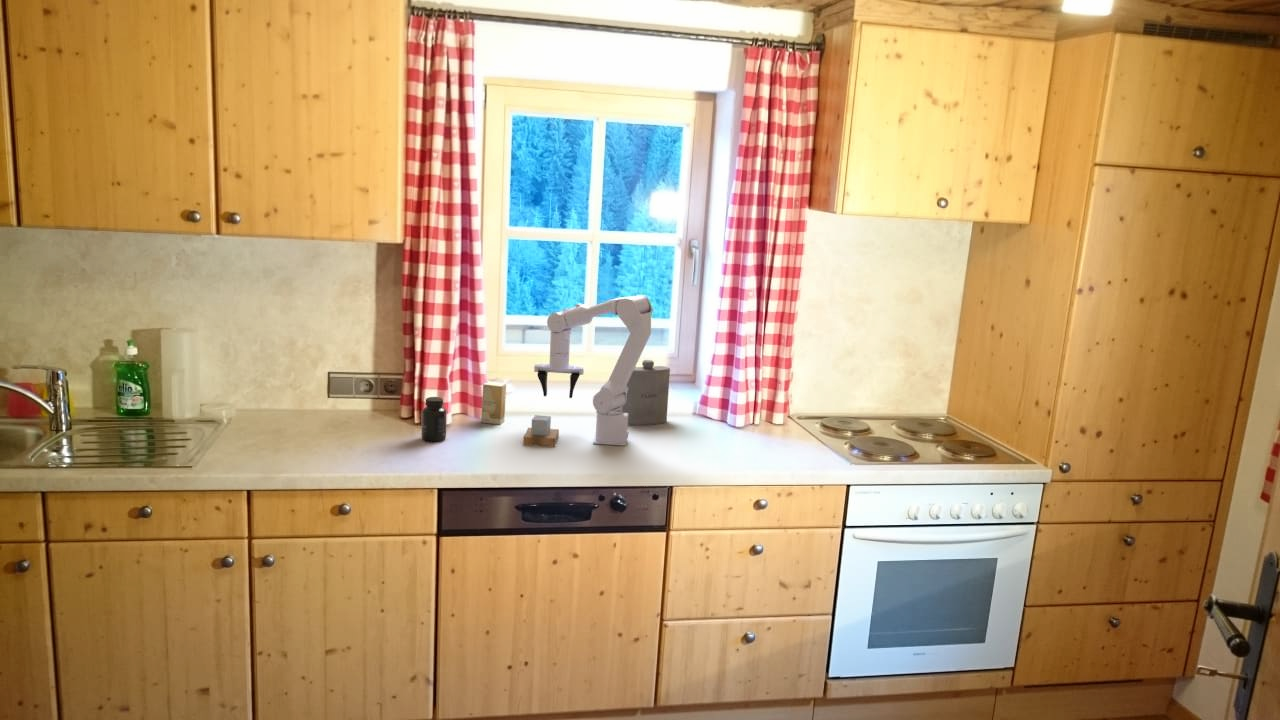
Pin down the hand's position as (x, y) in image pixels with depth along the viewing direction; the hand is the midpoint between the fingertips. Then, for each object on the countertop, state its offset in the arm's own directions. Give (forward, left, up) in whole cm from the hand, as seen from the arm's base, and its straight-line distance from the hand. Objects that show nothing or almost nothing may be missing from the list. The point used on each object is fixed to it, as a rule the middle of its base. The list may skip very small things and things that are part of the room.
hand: (558, 396), depth 280 cm
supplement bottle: (+33, +17, -11) cm, 39 cm away
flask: (-26, -14, -11) cm, 31 cm away
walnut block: (+3, +12, -11) cm, 17 cm away
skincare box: (+20, -4, -11) cm, 23 cm away
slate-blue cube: (+3, +12, -8) cm, 15 cm away
